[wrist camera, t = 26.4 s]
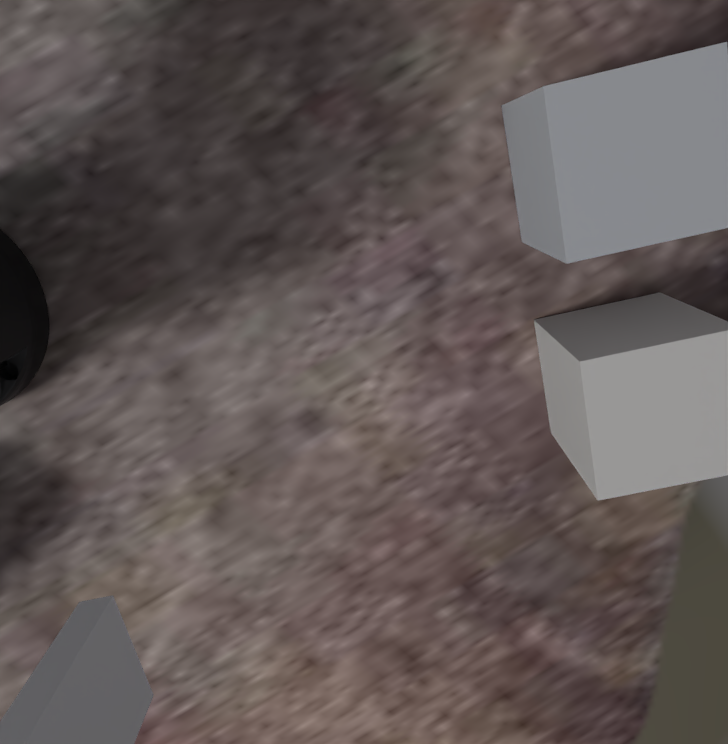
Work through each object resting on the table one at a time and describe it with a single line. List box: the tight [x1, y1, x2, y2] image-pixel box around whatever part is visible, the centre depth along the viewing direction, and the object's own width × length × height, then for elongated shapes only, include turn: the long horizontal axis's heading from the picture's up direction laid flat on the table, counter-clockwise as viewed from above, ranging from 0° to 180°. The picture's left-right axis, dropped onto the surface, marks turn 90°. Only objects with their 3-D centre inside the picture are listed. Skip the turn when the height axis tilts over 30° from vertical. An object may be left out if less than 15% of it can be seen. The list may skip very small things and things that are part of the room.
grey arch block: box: [501, 42, 728, 264], centre depth 36 cm, size 9×9×10 cm
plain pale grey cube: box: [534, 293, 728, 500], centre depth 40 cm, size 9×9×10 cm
